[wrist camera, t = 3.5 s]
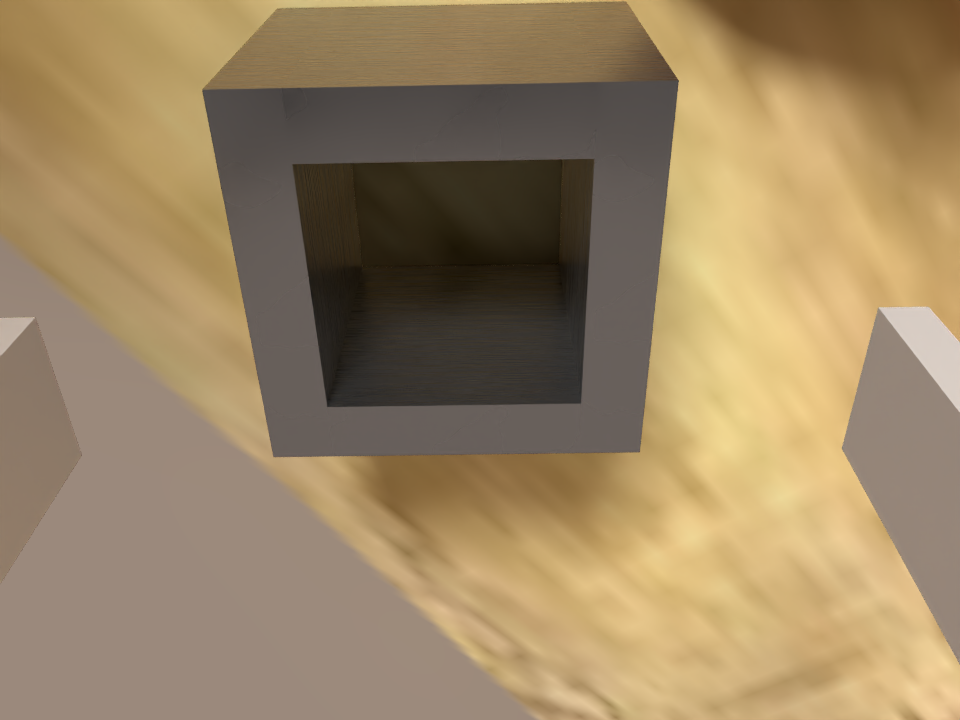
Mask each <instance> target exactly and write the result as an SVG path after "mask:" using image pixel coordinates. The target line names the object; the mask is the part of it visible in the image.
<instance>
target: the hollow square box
mask: <svg viewBox="0 0 960 720" xmlns="http://www.w3.org/2000/svg"><path fill="white" fill-rule="evenodd" d="M678 82H679V80H678V79H677V77H676V76H675V74H674V73H673V71H672V70H671V68H670V67H669V65H668V64H667V62H666V61H665V59H664V58H663V56H662V55H661V53H660V52H659V50H658V49H657V47H656V46H655V44H654V43H653V41H652V40H651V38H650V37H649V35H648V34H647V32H646V31H645V29H644V28H643V26H642V25H641V23H640V22H639V20H638V19H637V17H636V16H635V14H634V13H633V11H632V10H631V8H630V7H629V5H628V4H627V2H587V3H537V4H488V5H438V6H389V7H339V8H290V9H277V10H276V11H275V12H274V13H273V14H272V15H271V16H270V17H269V18H268V19H267V21H266V22H265V23H264V24H263V25H262V26H261V27H260V28H259V29H258V30H257V31H256V32H255V33H254V34H253V36H252V37H251V38H250V39H249V40H248V41H247V42H246V43H245V44H244V45H243V46H242V47H241V48H240V50H239V51H238V52H237V53H236V54H235V55H234V56H233V57H232V58H231V59H230V60H229V61H228V62H227V64H226V65H225V66H224V67H223V68H222V69H221V70H220V71H219V72H218V73H217V74H216V75H215V76H214V78H213V79H212V80H211V81H210V82H209V83H208V84H207V85H206V86H205V87H204V88H203V89H202V91H203V96H204V101H205V106H206V111H207V117H208V122H209V127H210V132H211V137H212V142H213V147H214V153H215V158H216V163H217V168H218V173H219V178H220V183H221V189H222V194H223V199H224V204H225V209H226V214H227V220H228V225H229V230H230V235H231V240H232V245H233V250H234V256H235V261H236V266H237V271H238V276H239V281H240V286H241V292H242V297H243V302H244V307H245V312H246V317H247V322H248V328H249V333H250V338H251V343H252V348H253V353H254V358H255V364H256V369H257V374H258V379H259V384H260V389H261V394H262V400H263V405H264V410H265V415H266V420H267V425H268V430H269V436H270V441H271V446H272V451H273V456H274V457H312V456H387V455H463V454H538V453H614V452H640V444H641V435H642V425H643V416H644V406H645V397H646V387H647V378H648V368H649V358H650V349H651V339H652V330H653V320H654V311H655V301H656V292H657V282H658V273H659V263H660V254H661V244H662V234H663V225H664V215H665V206H666V196H667V187H668V177H669V168H670V158H671V149H672V139H673V130H674V120H675V110H676V101H677V91H678ZM552 159H562V187H561V217H560V246H559V264H515V265H453V266H392V267H363V266H362V257H361V247H360V238H359V228H358V219H357V209H356V200H355V190H354V181H353V171H352V163H384V162H440V161H496V160H552Z"/></svg>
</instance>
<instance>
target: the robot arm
mask: <svg viewBox="0 0 960 720" xmlns="http://www.w3.org/2000/svg"><path fill="white" fill-rule="evenodd" d="M842 450H843V452H844V453H845V455H846V457H847V459H848V461H849V463H850V464H851V466H852V468H853V470H854V472H855V474H856V475H857V477H858V479H859V481H860V483H861V485H862V486H863V488H864V490H865V492H866V494H867V496H868V497H869V499H870V501H871V503H872V505H873V506H874V508H875V510H876V512H877V514H878V516H879V517H880V519H881V521H882V523H883V525H884V527H885V528H886V530H887V532H888V534H889V536H890V538H891V539H892V541H893V543H894V545H895V547H896V549H897V550H898V552H899V554H900V556H901V558H902V560H903V561H904V563H905V565H906V567H907V569H908V571H909V572H910V574H911V576H912V578H913V580H914V582H915V583H916V585H917V587H918V589H919V591H920V592H921V594H922V596H923V598H924V600H925V602H926V603H927V605H928V607H929V609H930V611H931V613H932V614H933V616H934V618H935V620H936V622H937V624H938V625H939V627H940V629H941V631H942V633H943V635H944V636H945V638H946V640H947V642H948V644H949V646H950V647H951V649H952V651H953V653H954V655H955V657H956V658H957V660H958V662H959V664H960V342H959V341H958V340H957V339H956V338H955V337H954V335H953V334H952V333H951V332H950V331H949V330H948V329H947V327H946V326H945V325H944V324H943V323H942V322H941V321H940V319H939V318H938V317H937V316H936V315H935V314H934V313H933V311H932V310H931V309H930V308H929V307H878V311H877V314H876V318H875V322H874V326H873V330H872V334H871V338H870V342H869V345H868V349H867V353H866V357H865V361H864V365H863V369H862V373H861V376H860V380H859V384H858V388H857V392H856V396H855V400H854V404H853V407H852V411H851V415H850V419H849V423H848V427H847V431H846V435H845V438H844V442H843V446H842ZM81 456H82V454H81V451H80V448H79V445H78V442H77V439H76V436H75V433H74V430H73V427H72V424H71V421H70V419H69V415H68V412H67V409H66V407H65V404H64V401H63V398H62V395H61V392H60V389H59V386H58V383H57V380H56V377H55V374H54V371H53V368H52V365H51V362H50V359H49V356H48V353H47V350H46V347H45V345H44V341H43V338H42V336H41V333H40V330H39V327H38V324H37V321H36V318H35V317H16V318H0V584H1V582H2V580H3V579H4V577H5V576H6V574H7V573H8V571H9V570H10V568H11V566H12V565H13V563H14V562H15V560H16V559H17V557H18V555H19V554H20V552H21V551H22V549H23V547H24V546H25V544H26V543H27V541H28V540H29V538H30V536H31V535H32V533H33V532H34V530H35V528H36V527H37V525H38V524H39V522H40V520H41V519H42V517H43V516H44V514H45V513H46V511H47V509H48V508H49V506H50V505H51V503H52V502H53V500H54V498H55V497H56V495H57V494H58V492H59V490H60V489H61V487H62V486H63V484H64V483H65V481H66V479H67V478H68V476H69V475H70V473H71V471H72V470H73V468H74V467H75V465H76V464H77V462H78V460H79V459H80V457H81Z"/></svg>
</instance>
